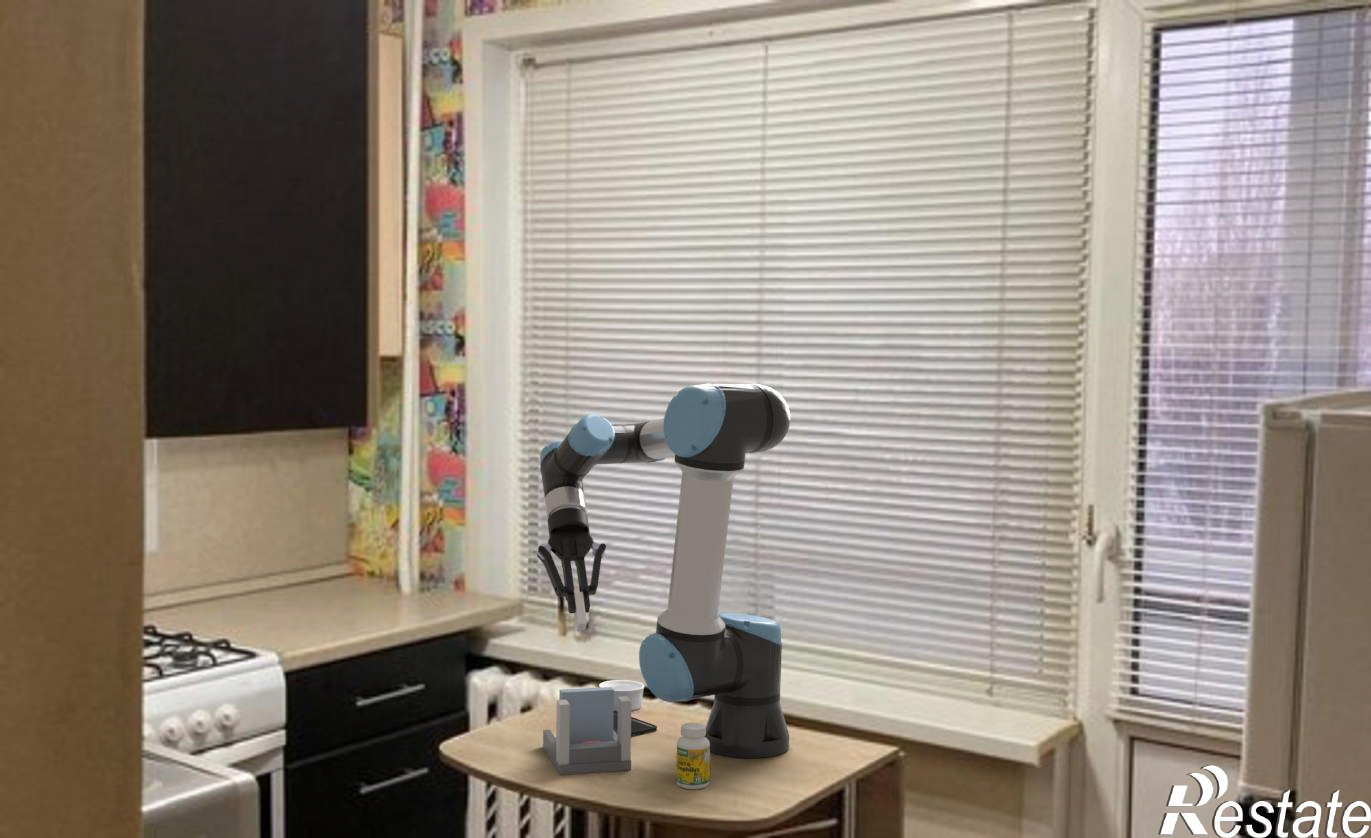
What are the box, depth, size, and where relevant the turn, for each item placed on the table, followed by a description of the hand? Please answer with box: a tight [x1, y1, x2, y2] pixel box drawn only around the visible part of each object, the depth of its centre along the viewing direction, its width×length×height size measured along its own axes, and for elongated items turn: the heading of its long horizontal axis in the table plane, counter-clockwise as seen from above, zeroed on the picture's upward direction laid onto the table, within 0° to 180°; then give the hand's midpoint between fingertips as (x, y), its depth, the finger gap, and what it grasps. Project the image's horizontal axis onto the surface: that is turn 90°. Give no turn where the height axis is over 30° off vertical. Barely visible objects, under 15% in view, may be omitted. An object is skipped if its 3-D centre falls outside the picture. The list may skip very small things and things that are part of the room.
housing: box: [542, 696, 632, 776], centre depth 233 cm, size 16×12×12 cm
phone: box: [613, 711, 658, 738], centre depth 254 cm, size 8×1×15 cm
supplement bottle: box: [675, 722, 711, 790], centre depth 220 cm, size 5×5×10 cm
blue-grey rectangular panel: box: [558, 686, 614, 744], centre depth 233 cm, size 2×9×10 cm, turn 106°
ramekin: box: [598, 679, 645, 712], centre depth 267 cm, size 9×9×4 cm
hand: (581, 627), depth 244 cm, fingers closed
